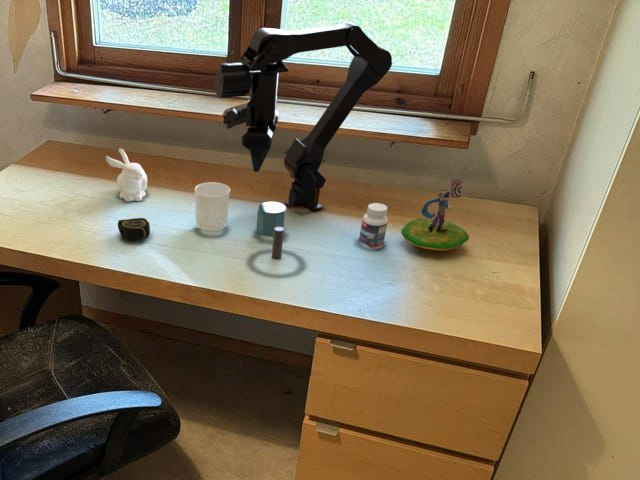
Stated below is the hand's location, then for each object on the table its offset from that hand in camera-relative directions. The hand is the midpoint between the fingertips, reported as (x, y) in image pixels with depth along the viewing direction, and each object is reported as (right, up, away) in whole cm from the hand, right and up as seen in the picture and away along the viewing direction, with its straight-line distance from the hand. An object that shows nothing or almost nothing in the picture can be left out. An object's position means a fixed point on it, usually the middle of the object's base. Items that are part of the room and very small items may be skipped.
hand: (258, 164), depth 158 cm
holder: (+2, -25, -13) cm, 28 cm away
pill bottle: (+24, -20, -7) cm, 32 cm away
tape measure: (-29, -17, -2) cm, 33 cm away
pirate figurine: (+37, -20, -8) cm, 43 cm away
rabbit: (-30, -4, +16) cm, 34 cm away
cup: (+2, -17, -3) cm, 17 cm away
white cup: (-11, -15, 0) cm, 19 cm away
